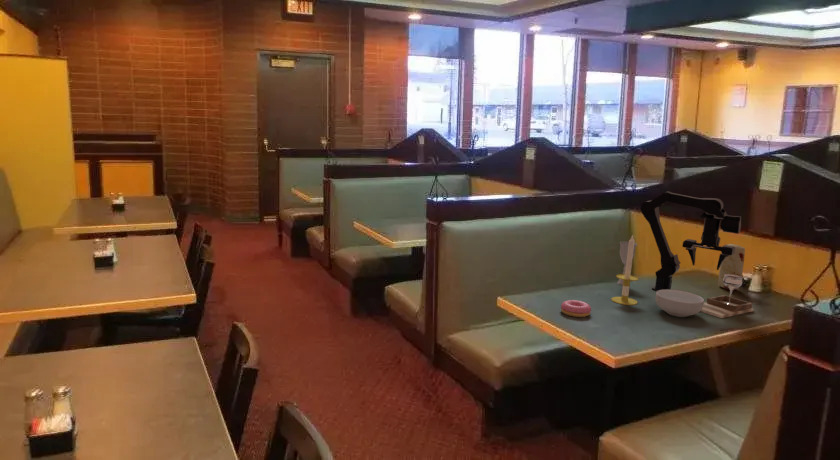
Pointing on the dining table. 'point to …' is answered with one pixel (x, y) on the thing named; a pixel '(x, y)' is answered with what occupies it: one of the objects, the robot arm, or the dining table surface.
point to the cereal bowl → (679, 302)
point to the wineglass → (732, 283)
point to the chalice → (624, 256)
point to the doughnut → (575, 308)
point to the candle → (627, 278)
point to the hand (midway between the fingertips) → (705, 267)
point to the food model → (732, 264)
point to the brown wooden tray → (726, 306)
